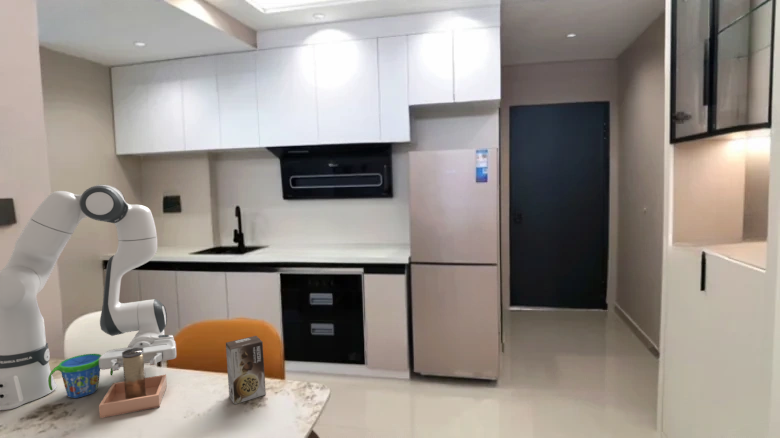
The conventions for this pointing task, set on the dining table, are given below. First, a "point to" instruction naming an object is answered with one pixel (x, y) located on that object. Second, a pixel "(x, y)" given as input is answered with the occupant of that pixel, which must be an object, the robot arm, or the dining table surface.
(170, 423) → the dining table surface
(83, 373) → the snack cup
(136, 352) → the bronze tin
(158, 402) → the terracotta tray
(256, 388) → the coffee box
